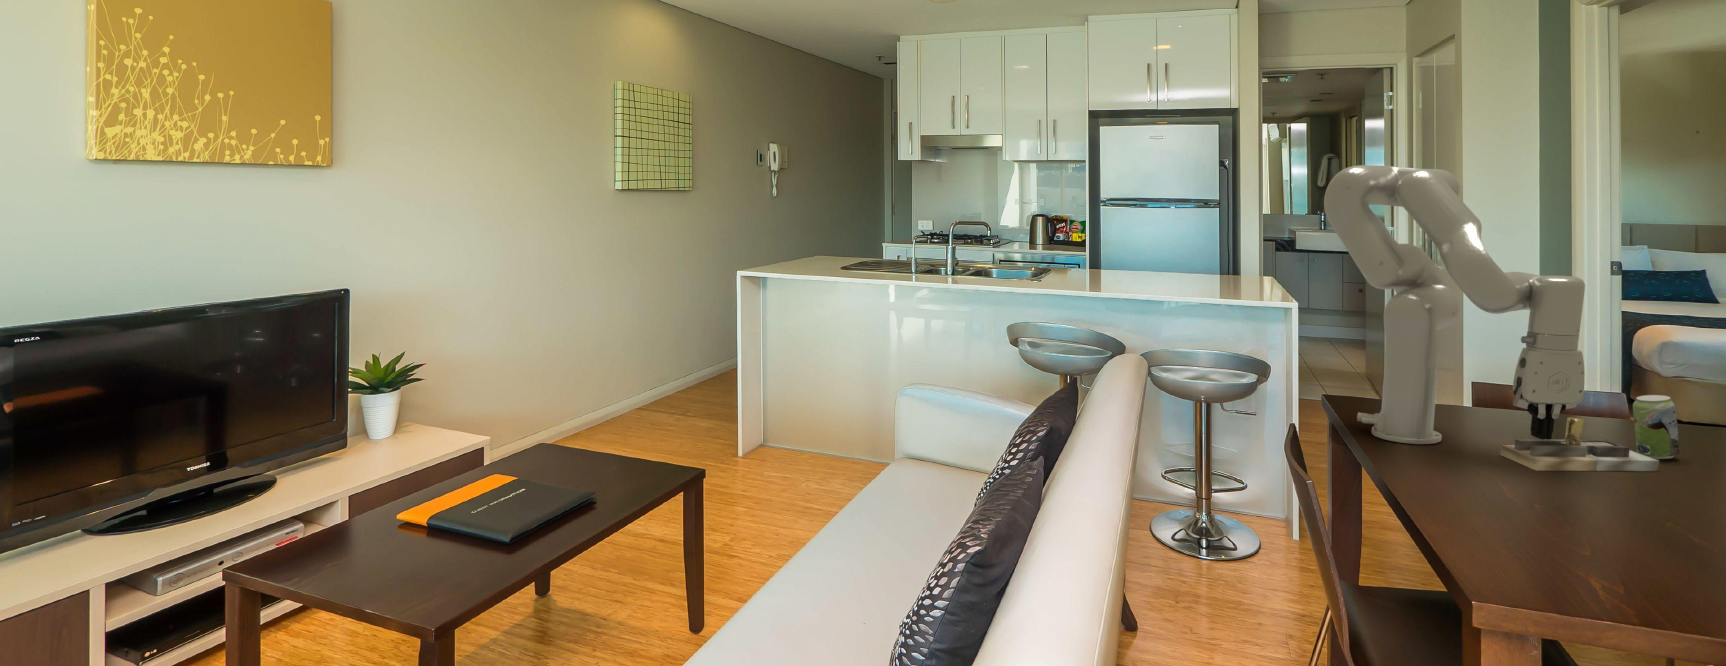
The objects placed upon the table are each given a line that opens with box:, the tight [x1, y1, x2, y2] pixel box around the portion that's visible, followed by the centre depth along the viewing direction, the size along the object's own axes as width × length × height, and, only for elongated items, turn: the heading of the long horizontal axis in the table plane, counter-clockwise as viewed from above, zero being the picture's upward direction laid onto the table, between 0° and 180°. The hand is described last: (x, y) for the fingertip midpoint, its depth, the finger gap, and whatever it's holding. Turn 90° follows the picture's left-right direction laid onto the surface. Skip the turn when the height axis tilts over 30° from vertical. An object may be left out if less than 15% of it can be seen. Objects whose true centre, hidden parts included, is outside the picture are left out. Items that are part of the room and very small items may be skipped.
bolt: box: [1560, 417, 1614, 454], centre depth 161 cm, size 8×2×6 cm, turn 85°
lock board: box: [1500, 438, 1660, 472], centre depth 161 cm, size 21×10×4 cm, turn 85°
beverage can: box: [1632, 394, 1680, 460], centre depth 163 cm, size 6×7×12 cm
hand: (1540, 437), depth 162 cm, fingers closed
